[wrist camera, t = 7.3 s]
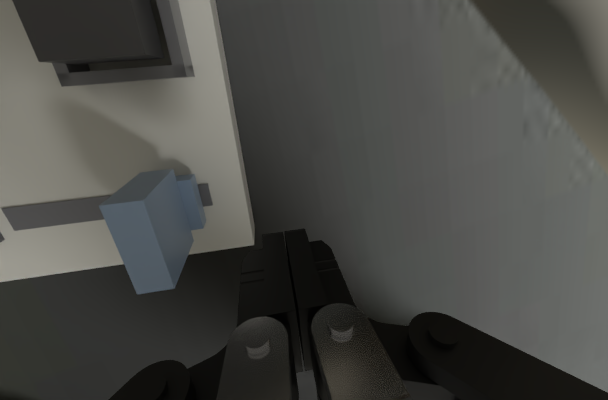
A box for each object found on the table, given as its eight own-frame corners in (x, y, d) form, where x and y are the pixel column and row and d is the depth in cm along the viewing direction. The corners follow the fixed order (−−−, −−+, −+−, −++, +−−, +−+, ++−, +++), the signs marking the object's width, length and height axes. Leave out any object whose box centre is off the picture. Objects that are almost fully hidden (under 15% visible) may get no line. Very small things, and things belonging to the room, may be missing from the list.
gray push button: (137, -48, 10) (108, -77, 8) (164, 57, 12) (145, 54, 10) (35, -44, 10) (-20, -74, 8) (76, 64, 12) (38, 61, 10)
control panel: (197, -101, 13) (172, -175, 9) (254, 226, 20) (253, 260, 17) (-316, -93, 11) (-623, -184, 7) (-43, 267, 18) (-121, 316, 15)
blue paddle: (191, 161, 15) (162, 197, 11) (209, 230, 17) (190, 286, 12) (134, 168, 15) (78, 208, 10) (158, 237, 17) (120, 297, 12)
